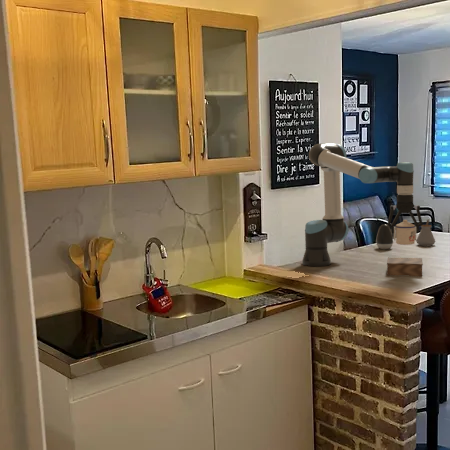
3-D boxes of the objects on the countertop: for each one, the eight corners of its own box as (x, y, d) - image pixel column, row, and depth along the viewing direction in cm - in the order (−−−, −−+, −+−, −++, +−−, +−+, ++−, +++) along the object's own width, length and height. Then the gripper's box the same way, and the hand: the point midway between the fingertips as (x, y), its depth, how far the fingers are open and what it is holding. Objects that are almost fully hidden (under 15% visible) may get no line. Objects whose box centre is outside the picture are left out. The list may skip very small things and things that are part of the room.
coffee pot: (434, 247, 362) (434, 223, 360) (415, 246, 367) (415, 222, 365) (437, 242, 381) (437, 219, 380) (418, 241, 386) (419, 218, 384)
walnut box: (386, 275, 284) (386, 263, 283) (387, 269, 299) (388, 257, 298) (422, 276, 279) (422, 264, 278) (421, 270, 294) (421, 258, 293)
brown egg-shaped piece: (395, 247, 363) (395, 223, 362) (390, 250, 355) (390, 225, 353) (379, 246, 369) (379, 222, 367) (373, 249, 360) (373, 224, 358)
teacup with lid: (412, 245, 280) (413, 221, 278) (393, 244, 284) (393, 220, 283) (417, 241, 290) (418, 218, 289) (399, 241, 294) (399, 217, 293)
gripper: (382, 195, 283) (382, 241, 286) (429, 194, 279) (429, 241, 281) (381, 194, 290) (381, 239, 293) (427, 193, 286) (427, 239, 288)
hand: (404, 240), depth 287 cm, fingers closed on teacup with lid, 9 cm apart
